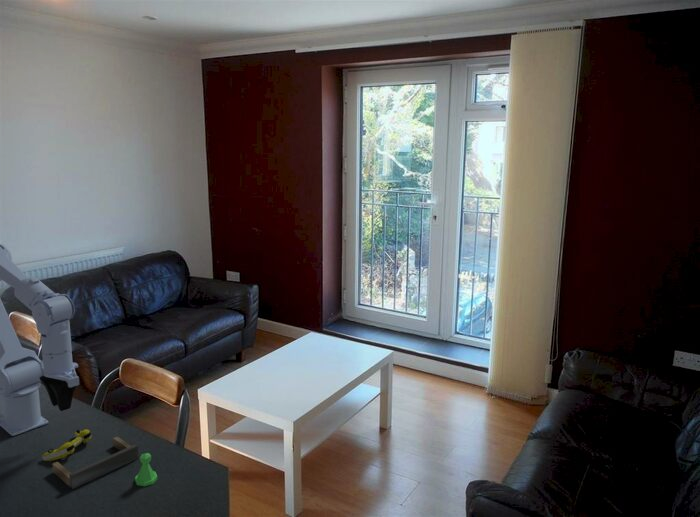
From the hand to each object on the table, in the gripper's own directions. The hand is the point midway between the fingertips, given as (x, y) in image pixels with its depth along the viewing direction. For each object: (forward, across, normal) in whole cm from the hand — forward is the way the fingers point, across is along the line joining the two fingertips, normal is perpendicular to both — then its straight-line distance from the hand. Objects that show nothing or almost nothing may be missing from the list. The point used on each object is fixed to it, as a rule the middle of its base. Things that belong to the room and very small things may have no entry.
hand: (61, 406), depth 119 cm
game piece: (+9, -27, -4) cm, 29 cm away
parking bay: (+8, -14, 0) cm, 16 cm away
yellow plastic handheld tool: (+9, -5, +1) cm, 10 cm away
